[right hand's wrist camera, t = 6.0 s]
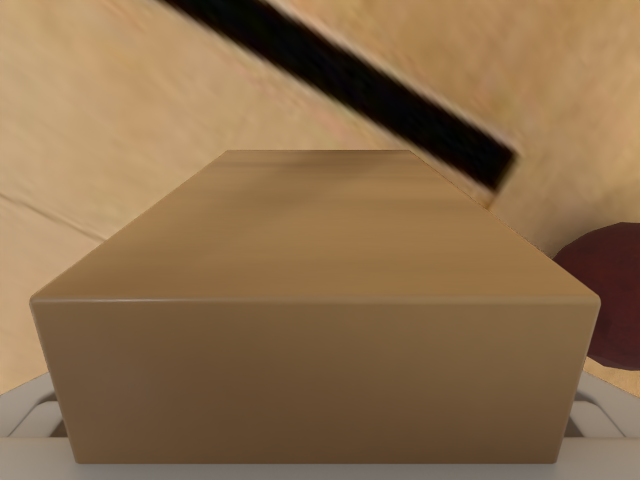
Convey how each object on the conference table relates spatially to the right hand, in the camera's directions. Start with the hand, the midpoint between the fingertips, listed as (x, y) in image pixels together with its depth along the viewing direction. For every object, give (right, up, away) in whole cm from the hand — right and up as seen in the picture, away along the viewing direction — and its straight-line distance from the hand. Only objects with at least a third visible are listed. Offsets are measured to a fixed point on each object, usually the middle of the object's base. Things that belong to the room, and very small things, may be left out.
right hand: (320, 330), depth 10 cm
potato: (+16, +1, +14) cm, 21 cm away
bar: (0, -7, +7) cm, 10 cm away
